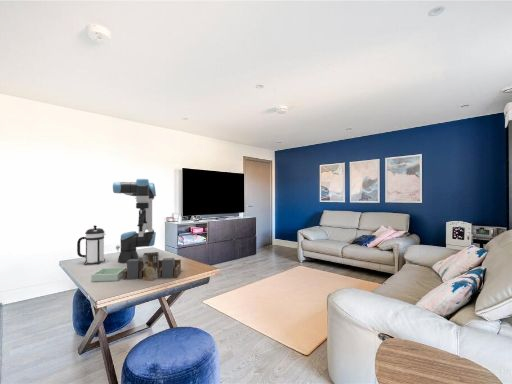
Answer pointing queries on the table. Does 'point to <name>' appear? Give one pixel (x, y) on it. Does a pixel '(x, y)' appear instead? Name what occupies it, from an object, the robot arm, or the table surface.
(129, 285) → the table surface
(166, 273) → the block
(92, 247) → the coffee press
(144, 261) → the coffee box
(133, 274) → the block
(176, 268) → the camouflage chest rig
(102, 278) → the tray
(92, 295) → the table surface
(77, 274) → the table surface
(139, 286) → the table surface
